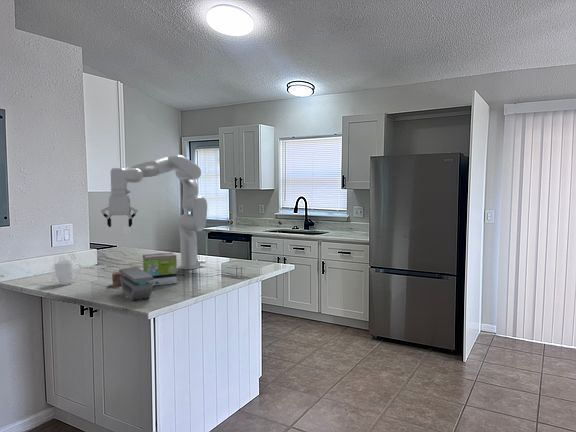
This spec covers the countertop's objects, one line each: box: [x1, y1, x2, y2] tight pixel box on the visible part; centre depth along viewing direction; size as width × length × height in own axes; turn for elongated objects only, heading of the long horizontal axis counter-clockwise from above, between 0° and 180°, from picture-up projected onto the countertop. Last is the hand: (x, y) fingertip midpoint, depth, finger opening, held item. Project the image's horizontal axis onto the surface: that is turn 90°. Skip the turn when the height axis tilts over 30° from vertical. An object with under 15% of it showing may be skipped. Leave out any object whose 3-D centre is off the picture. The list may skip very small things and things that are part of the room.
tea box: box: [142, 252, 178, 286], centre depth 223 cm, size 15×10×15 cm
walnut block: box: [111, 271, 124, 287], centre depth 221 cm, size 5×5×6 cm
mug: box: [54, 260, 82, 286], centre depth 224 cm, size 12×8×11 cm
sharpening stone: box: [118, 266, 154, 301], centre depth 199 cm, size 25×8×11 cm, turn 35°
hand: (119, 226), depth 223 cm, fingers open, 9 cm apart
